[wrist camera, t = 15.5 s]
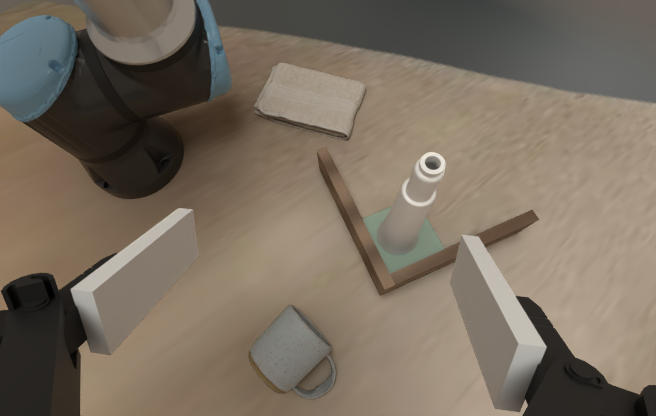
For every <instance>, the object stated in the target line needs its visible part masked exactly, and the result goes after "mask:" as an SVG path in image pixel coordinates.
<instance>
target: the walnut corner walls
mask: <svg viewBox="0 0 656 416" xmlns="http://www.w3.org/2000/svg"><path fill="white" fill-rule="evenodd" d="M317 155H318V162H319V168H320V171H321V173H322V175H323V178H324V180H325V182H326V184H327V186H328V188H329V190H330V192H331V194H332V196H333V198H334V201H335V203H336V205H337V207H338V209H339V211H340V213H341V215H342V217H343V219H344V221H345V223H346V226H347V228H348V230H349V232H350V234H351V236H352V238H353V240H354V242H355V244H356V246H357V249H358V251H359V253H360V255H361V257H362V259H363V261H364V263H365V265H366V267H367V269H368V272H369V274H370V276H371V278H372V280H373V282H374V284H375V286H376V288H377V290H378V292H379V295H380V296H381V295H383V294H385V293H387V292H389V291H391V290H394V289H396V288H398V287H400V286H402V285H405V284H407V283H409V282H411V281H413V280H416V279H418V278H420V277H422V276H424V275H427V274H429V273H431V272H433V271H435V270H437V269H440V268H442V267H444V266H446V265H448V264H451V263H453V262H455V261H456V256H457V252H458V248H459V244H460V242H459V243H457V244H455V245H453V246H451V247H448V248H446V249H444V250H442V251H439V252H437V253H435V254H433V255H431V256H428V257H426V258H424V259H422V260H419V261H417V262H415V263H413V264H411V265H408V266H406V267H404V268H402V269H399V270H397V271H395V272H393V273H391V274H390V273H389V271H388V269H387V267H386V265H385V263H384V261H383V259H382V257H381V255H380V253H379V251H378V249H377V247H376V245H375V243H374V241H373V239H372V237H371V235H370V233H369V231H368V229H367V227H366V225H365V223H364V221H363V219H362V217H361V215H360V213H359V211H358V209H357V207H356V205H355V203H354V201H353V199H352V197H351V195H350V193H349V191H348V189H347V187H346V185H345V183H344V181H343V179H342V177H341V176H340V174H339V172H338V170H337V168H336V166H335V164H334V162H333V160H332V158H331V156H330V154H329V152H328V150H327V148H326V147H325V148H322V149H320V150H317ZM537 220H539V218H538V217H537V216H536V214H535V213H534V212H533V210H530V211H528V212H526V213H524V214H522V215H519V216H517V217H515V218H513V219H510V220H508V221H506V222H504V223H502V224H499V225H497V226H495V227H493V228H490V229H488V230H486V231H484V232H482V233H479V234H477V235H475V236H479V238H480V240H481V241H482V243H483V245H484V246H485V248H486V247H488V246H490V245H492V244H494V243H497V242H499V241H501V240H503V239H505V238H508V237H510V236H512V235H514V234H516V233H518V232H520V231H521V230H523V229H525V228H526V227H528V226H529V225H531V224H533V223H534V222H536V221H537Z"/></svg>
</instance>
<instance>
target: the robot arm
mask: <svg viewBox="0 0 656 416" xmlns="http://www.w3.org/2000/svg"><path fill="white" fill-rule="evenodd" d="M73 1H74V2H75V3H76V4H77V5H78V6H79V7H80V9H81V10H82V11H83V12H84V13H85V14H86V27H87V29H83V30H80V31H75V30H74V28H73V27H72V26H71V25H70V24H68V23H67V22H65V21H64V20H62V19H60V18H58V17H52V16H49V15H40V16H35V17H31V18H28V19H26V20H24V21H22V22H20V23H18V24H16V25H14V26H13V27H11V28H10V29H9V30H7V31H6V32H5V33H4V34H3V35H2V36H1V37H0V106H1V107H3V108H4V109H5V110H6V111H8V112H9V113H10V114H11V115H12V116H13V117H14V118H15V119H16V120H18V121H20V122H23V123H24V124H26V125H27V126H29V127H30V128H32V129H33V130H35V131H36V132H38V133H39V134H41V135H43V136H44V137H46V138H47V139H49V140H50V141H52V142H53V143H55V144H56V145H58V146H59V147H61V148H62V149H64V150H65V151H67V152H69V153H70V154H72V155H73V156H75V157H76V158H77V159H79V161H80V162H81V164H82V165H83V167H84V168H85V170H86V171H87V173H88V174H89V176H90V177H91V179H92V180H93V181H94V182H95V183H96V184H97V185H98V186H99V187H100V188H102V189H103V190H105V191H106V192H108V193H110V194H111V195H114V196H116V197H120V198H127V199H132V198H139V197H143V196H147V195H149V194H152V193H154V192H156V191H157V190H159V189H161V188H162V187H163V186H165V185H166V184H167V183H168V182H169V181H170V180H171V179H172V178H173V177H174V175H175V174H176V172H177V171H178V169H179V167H180V165H181V162H182V159H183V143H182V140H181V138H180V136H179V135H178V133H177V132H176V131H175V129H174V128H173V127H172V126H171V125H170V124H169V123H168V122H167V121H165V120H164V119H162V118H160V117H158V116H159V115H163V114H166V113H169V112H173V111H176V110H179V109H182V108H186V107H189V106H192V105H196V104H199V103H202V102H208V101H211V100H212V99H213V98H215V97H218V96H220V95H223V94H225V93H227V92H228V91H229V90H230V88H231V86H232V78H231V73H230V69H229V65H228V61H227V58H226V54H225V51H224V49H223V44H222V41H221V37H220V33H219V30H218V27H217V24H216V21H215V18H214V15H213V12H212V9H211V6H210V4H209V2H208V0H73ZM198 257H199V253H198V245H197V237H196V229H195V221H194V214H193V209H183V208H178V209H177V210H175V211H174V212H173V213H171V214H170V215H169V216H167V217H166V218H165V219H163V220H162V221H161V222H159V223H158V224H157V225H155V226H154V227H153V228H151V229H150V230H149V231H147V232H146V233H145V234H143V235H142V236H141V237H139V238H138V239H137V240H135V241H134V242H133V243H131V244H130V245H129V246H127V247H126V248H125V249H123V250H122V251H121V252H119V253H115V254H112V255H110V256H108V257H106V258H103V259H102V260H100V261H99V262H97V263H96V264H95V265H93V266H92V268H89V269H88V270H86V271H85V272H84V274H81V275H80V276H78V277H77V278H75V279H74V280H73V281H71V282H70V283H69V284H67V285H66V286H64V287H63V288H62V289H60V290H59V291H58V288H57V285H56V282H55V279H54V277H53V275H51V274H49V273H36V274H30V275H27V276H23V277H20V278H18V279H16V280H14V281H12V282H10V283H9V284H7V285H6V286H4V288H3V289H2V290H1V293H2V295H3V297H4V300H5V302H6V304H7V307H8V309H9V310H3V311H0V416H80V364H81V355H80V352H79V349H78V348H79V347H80V346H81V345H82V344H83V343H84V342H85V341H86V340H87V342H88V345H89V348H90V351H91V352H92V353H99V354H106V355H111V354H112V353H113V352H114V351H115V350H116V349H117V348H118V347H119V345H120V344H121V343H122V342H123V341H124V340H125V339H126V338H127V336H128V335H129V334H130V333H131V332H132V331H133V330H134V329H135V327H136V326H137V325H138V324H139V323H140V322H141V321H142V320H143V319H144V317H145V316H146V315H147V314H148V313H149V312H150V311H151V310H152V308H153V307H154V306H155V305H156V304H157V303H158V302H159V301H160V299H161V298H162V297H163V296H164V295H165V294H166V293H167V292H168V290H169V289H170V288H171V287H172V286H173V285H174V284H175V283H176V282H177V280H178V279H179V278H180V277H181V276H182V275H183V274H184V273H185V271H186V270H187V269H188V268H189V267H190V266H191V265H192V264H193V262H194V261H195V260H196V259H197V258H198ZM450 285H451V287H452V290H453V293H454V296H455V299H456V301H457V304H458V307H459V310H460V313H461V315H462V318H463V321H464V324H465V327H466V329H467V332H468V335H469V338H470V341H471V344H472V346H473V349H474V352H475V355H476V358H477V360H478V363H479V366H480V369H481V372H482V374H483V377H484V380H485V383H486V386H487V388H488V391H489V394H490V397H491V400H492V402H493V405H494V408H495V409H501V410H508V411H516V412H520V410H521V408H522V405H523V403H524V401H525V399H526V402H527V404H528V407H527V408H526V410H525V412H524V414H523V416H656V385H648V386H647V387H645V388H644V389H643V390H642V392H641V394H640V395H639V394H636V393H633V392H630V391H627V390H625V389H622V388H619V387H616V386H613V385H611V384H608V383H607V381H606V379H605V378H604V376H603V375H602V374H601V373H600V372H599V371H598V370H597V369H596V368H594V367H593V366H591V365H590V364H588V363H587V362H585V361H582V360H580V359H578V358H575V357H574V355H573V354H572V353H571V351H570V350H569V348H568V347H567V345H566V344H565V342H564V341H563V340H562V338H561V337H560V335H559V334H558V332H557V331H556V329H555V328H553V325H552V324H551V322H550V321H549V320H548V319H547V316H546V315H545V313H544V312H543V311H542V309H541V308H540V307H539V306H538V305H537V304H536V303H534V302H533V301H532V300H531V299H529V298H528V297H520V296H515V295H514V293H513V292H512V290H511V288H510V287H509V285H508V284H507V282H506V280H505V279H504V277H503V275H502V274H501V272H500V271H499V269H498V267H497V266H496V264H495V262H494V261H493V259H492V258H491V256H490V254H489V253H488V251H487V249H486V248H485V246H484V245H483V243H482V241H481V240H480V238H479V236H469V235H461V239H460V244H459V248H458V252H457V256H456V261H455V265H454V269H453V273H452V278H451V282H450Z"/></svg>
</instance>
